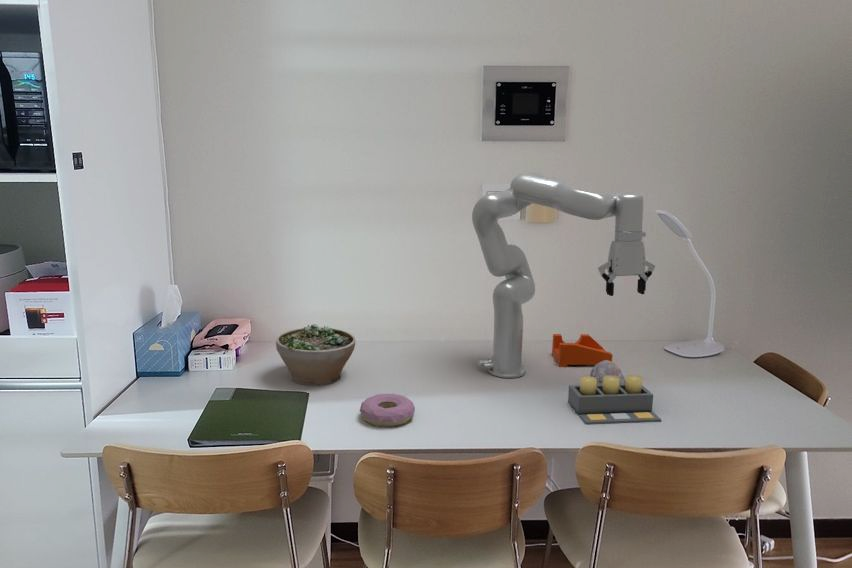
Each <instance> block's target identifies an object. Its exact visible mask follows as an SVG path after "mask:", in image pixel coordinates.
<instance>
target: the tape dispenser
mask: <svg viewBox="0 0 852 568" xmlns="http://www.w3.org/2000/svg"><path fill="white" fill-rule="evenodd" d="M551 356H552V357H554V358H553V359H554V361H555V362H556V365H557V366H558V365H559V366H558V367H559V368H568V366H569V365H573V366H574V365H575V366H576V365H577V366H579V365H580V366H581V365H584V366H585V365H586V366H587V365H588V366H590V365H594V366H595V365H596V364H598V363H600V362H602V361H604V360H608V361H612V362H613V354H612V352H610V351H606V350H605V349H604V347H602V345H600V343H598V341H596V340H595V339H594V338H593V337H592V336H590V334H587V333H584V334H582V333H581V334H580V336H579V338H578V339H577V341H576V342H565V341H564V340H563V336H562V334H561V333H553V334H552V346H551Z"/></svg>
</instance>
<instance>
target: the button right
mask: <svg viewBox="0 0 852 568" xmlns="http://www.w3.org/2000/svg"><path fill="white" fill-rule="evenodd" d="M642 385H643V377H642V376H640V375H638V374H627V375H626V376H625V391H626V392H627V393H628V394H641V390H642Z"/></svg>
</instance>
